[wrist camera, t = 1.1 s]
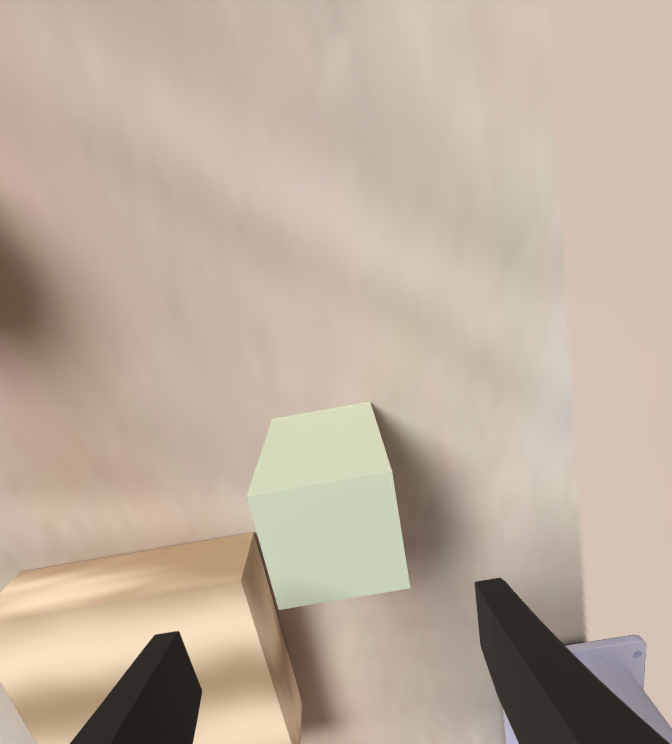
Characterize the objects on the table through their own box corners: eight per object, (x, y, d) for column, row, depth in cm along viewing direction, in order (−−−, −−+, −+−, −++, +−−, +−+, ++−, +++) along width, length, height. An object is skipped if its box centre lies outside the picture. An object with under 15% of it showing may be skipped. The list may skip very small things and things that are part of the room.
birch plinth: (302, 702, 22) (298, 767, 20) (103, 733, 23) (71, 802, 20) (253, 532, 19) (240, 580, 16) (20, 571, 19) (-33, 626, 17)
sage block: (384, 486, 19) (410, 588, 13) (293, 502, 19) (278, 609, 13) (370, 401, 17) (392, 471, 12) (272, 418, 18) (246, 496, 12)
